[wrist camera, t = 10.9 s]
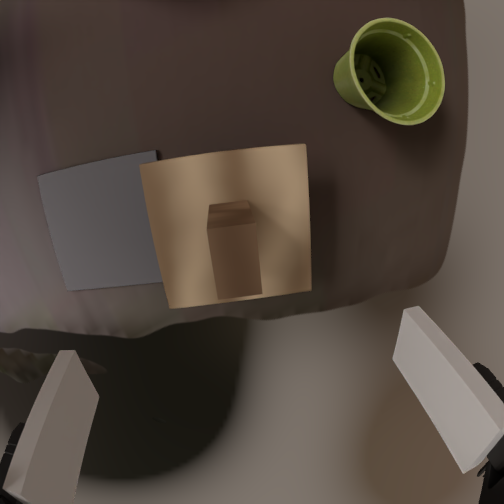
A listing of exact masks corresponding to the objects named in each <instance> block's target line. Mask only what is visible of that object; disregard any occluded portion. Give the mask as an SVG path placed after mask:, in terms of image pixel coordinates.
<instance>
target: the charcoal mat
mask: <svg viewBox="0 0 504 504" xmlns="http://www.w3.org/2000/svg"><path fill="white" fill-rule="evenodd" d="M154 161H158V159H157V151H156V150H153V151H147V152H141V153H135V154H130V155H125V156H120V157H115V158H110V159H105V160H100V161H96V162H91V163H87V164H82V165H78V166H74V167H70V168H66V169H62V170H58V171H54V172H50V173H47V174H43V175H39V176H37V178H38V184H39V189H40V194H41V199H42V203H43V208H44V212H45V216H46V220H47V224H48V228H49V232H50V236H51V240H52V243H53V247H54V250H55V254H56V257H57V260H58V263H59V267H60V270H61V273H62V276H63V279H64V282H65V285H66V288H67V291H74V290H85V289H96V288H107V287H117V286H128V285H138V284H148V283H157V282H163V280H162V276H161V272H160V268H159V263H158V259H157V255H156V250H155V246H154V241H153V237H152V232H151V227H150V222H149V217H148V212H147V207H146V202H145V196H144V191H143V185H142V179H141V173H140V167H139V165H140V164H143V163H148V162H154Z"/></svg>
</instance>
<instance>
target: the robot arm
mask: <svg viewBox="0 0 504 504" xmlns="http://www.w3.org/2000/svg"><path fill="white" fill-rule="evenodd" d="M392 359H393V361H394V362H395V364H396V366H397V367H398V369H399V370H400V372H401V373H402V374H403V376H404V378H405V379H406V381H407V382H408V384H409V385H410V387H411V389H412V390H413V392H414V393H415V395H416V396H417V398H418V399H419V401H420V403H421V404H422V406H423V407H424V409H425V411H426V412H427V414H428V416H429V417H430V419H431V420H432V422H433V424H434V425H435V427H436V429H437V430H438V432H439V434H440V435H441V437H442V438H443V440H444V442H445V443H446V445H447V447H448V449H449V450H450V452H451V453H452V455H453V457H454V459H455V461H456V462H457V464H458V466H459V468H460V469H461V471H462V473H463V474H464V473H465V472H467V471H469V470H471V469H472V468H474V467H476V466H477V465H479V464H480V463H481V461H482V460H483V459H484V458H485V457H486V456H487V458H488V459H489V461H488V462H487V463H486V464H485V465H484V466H483V467H482V468H481V469H480V471H479V472H478V474H477V476H478V477H479V476H480V475H481V474H482V473H483V472H484V471H485V474H484V475H483V477H484V481H483V486H482V491H481V495H480V500H479V504H504V387H502V384H501V383H500V382H499V381H498V380H496V377H495V376H494V375H493V374H492V372H491V371H490V370H489V369H488V368H486V367H485V366H483V365H481V364H480V363H475V364H473V365H472V364H471V363H470V362H469V361H468V359H467V358H466V357H465V356H464V355H463V354H462V353H461V351H459V349H458V348H457V347H456V346H455V345H454V343H453V342H452V341H451V340H450V339H449V338H448V337H447V336H446V335H445V333H444V332H443V331H441V329H440V328H439V327H438V326H437V325H436V324H435V323H434V321H433V320H432V319H430V317H429V316H428V315H427V314H426V313H425V312H424V311H423V310H422V309H421V308H420V307H419V306H415V307H411V308H407V309H404V311H403V316H402V320H401V325H400V330H399V334H398V338H397V343H396V347H395V350H394V354H393V358H392ZM98 400H99V395H98V393H97V392H96V390H95V388H94V386H93V384H92V382H91V381H90V379H89V377H88V375H87V373H86V371H85V369H84V367H83V365H82V363H81V361H80V359H79V357H78V355H77V353H76V352H75V350H60V351H59V353H58V355H57V357H56V359H55V361H54V363H53V365H52V367H51V369H50V371H49V373H48V375H47V377H46V379H45V381H44V383H43V385H42V388H41V390H40V392H39V394H38V397H37V399H36V401H35V403H34V406H33V408H32V410H31V413H30V415H29V417H28V419H27V422H26V423H19V425H18V426H17V427H16V428H15V429H14V430H13V432H12V434H11V436H10V439H9V441H8V445H7V447H6V449H5V454H3V457H2V460H1V462H0V504H73V502H74V497H75V492H76V487H77V482H78V477H79V473H80V468H81V464H82V460H83V455H84V451H85V447H86V443H87V439H88V435H89V431H90V428H91V424H92V420H93V417H94V413H95V410H96V406H97V403H98Z"/></svg>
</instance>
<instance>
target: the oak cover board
mask: <svg viewBox="0 0 504 504" xmlns="http://www.w3.org/2000/svg"><path fill="white" fill-rule="evenodd" d="M139 167H140V173H141V179H142V185H143V191H144V196H145V202H146V207H147V212H148V217H149V222H150V227H151V232H152V237H153V241H154V246H155V250H156V255H157V259H158V263H159V268H160V272H161V276H162V280H163V284H164V288H165V292H166V296H167V300H168V304H169V308H170V309H174V308H184V307H192V306H201V305H209V304H218V303H226V302H233V301H241V300H249V299H256V298H263V297H270V296H277V295H284V294H291V293H298V292H304V291H311V238H310V209H309V188H308V169H307V153H306V144H290V145H277V146H265V147H255V148H245V149H236V150H227V151H219V152H211V153H204V154H197V155H190V156H184V157H177V158H171V159H165V160H159V161H154V162H148V163H143V164H140V165H139Z"/></svg>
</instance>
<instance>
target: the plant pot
mask: <svg viewBox="0 0 504 504" xmlns="http://www.w3.org/2000/svg"><path fill="white" fill-rule="evenodd" d="M354 59H355V61H354ZM373 67H375V68H376V69H377V71H378V72H379V74H380V78H378V77H377V75H376V72H375V71H374V69H373ZM360 78H363V80H364V81H363V82H360ZM333 80H334V85H335V87H336V90H337V91H338V93H339V94H340V96H341V97H342V98H343V99H344V100H345V101H346V102H347V103H349V104H351V105H353V106H356V107H359V108H364V109H369V110H373V111H374V112H376V113H377V114H378V115H380V116H381V117H383V118H384V119H386V120H388V121H390V122H393V123H397V124H401V125H415V124H419V123H422V122H424V121H426V120H427V119H429V118H430V117H431V116H432V115H433V114H434V113H435V112H436V111H437V109H438V107H439V106H440V104H441V102H442V99H443V95H444V90H445V79H444V71H443V66H442V63H441V60H440V58H439V56H438V54H437V52H436V50H435V48H434V47H433V45H432V44H431V43H430V41H429V40H428V39H427V38H426V36H425V35H424V34H423V33H421V32H420V31H419V30H417V29H416V28H415V27H413V26H412V25H410V24H408V23H406V22H404V21H401V20H398V19H393V18H380V19H376V20H373V21H371V22H369V23H367V24H366V25H364V26H363V27H362V28H361V29H360V30H359V31H358V32H357V33H356V35H355V36H354V38H353V40H352V43H351V46H350V50H349V51H348V52H347V53H346V54H345V55H344V56H342V58H341V59H340V60H339V61H338V62H337V64H336V66H335V69H334V75H333ZM374 96H375V99H374V100H373V101H372V102H371V101H370V100H369V99H370V98H372V97H374Z"/></svg>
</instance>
